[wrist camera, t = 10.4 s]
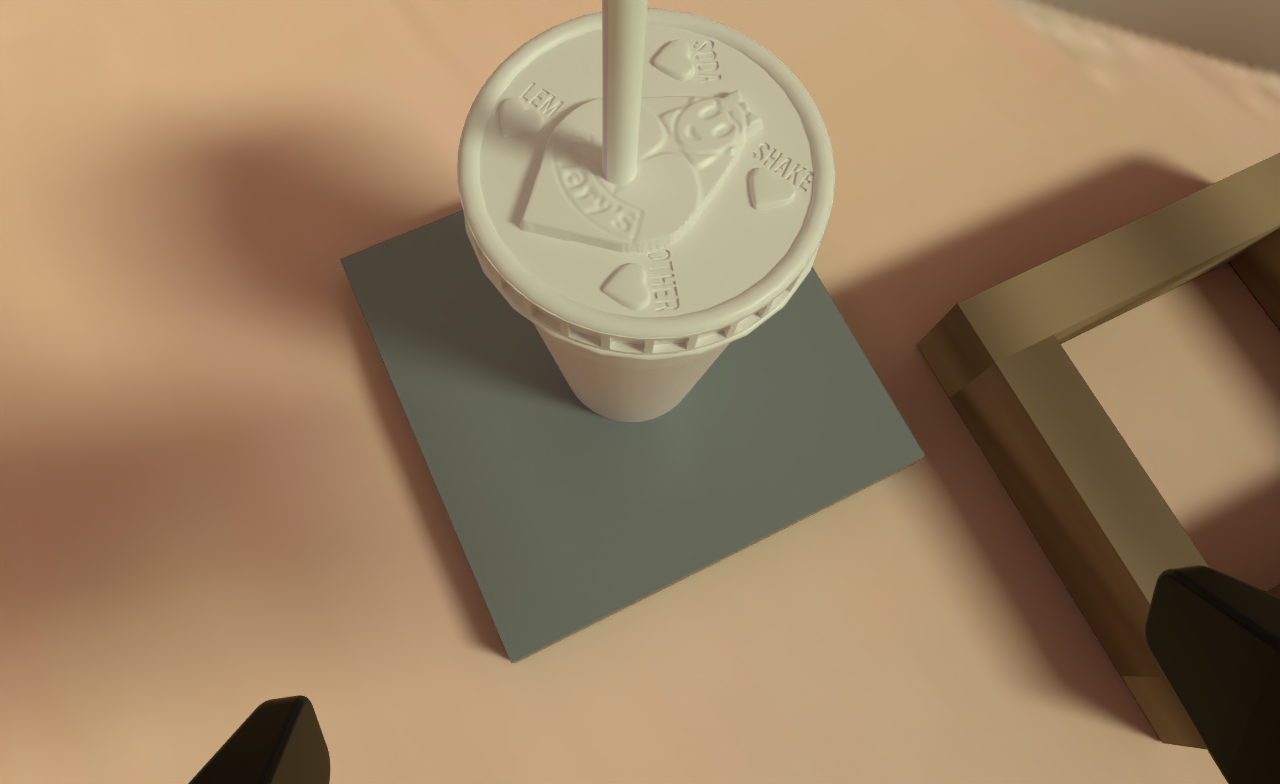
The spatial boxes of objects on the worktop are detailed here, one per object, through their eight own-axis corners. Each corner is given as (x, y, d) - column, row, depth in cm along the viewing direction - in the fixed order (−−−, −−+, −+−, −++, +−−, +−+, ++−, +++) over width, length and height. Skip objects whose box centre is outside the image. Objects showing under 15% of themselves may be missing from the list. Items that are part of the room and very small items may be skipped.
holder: (1162, 742, 22) (1246, 754, 19) (916, 344, 25) (957, 303, 22) (1504, 538, 24) (1628, 520, 21) (1238, 192, 27) (1313, 136, 24)
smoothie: (470, 318, 23) (294, -134, 10) (667, 214, 25) (744, -313, 11) (589, 517, 22) (566, 298, 9) (792, 396, 23) (1051, 36, 10)
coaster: (515, 662, 22) (510, 663, 21) (350, 274, 25) (340, 259, 24) (912, 464, 24) (925, 456, 23) (714, 128, 27) (718, 108, 26)
